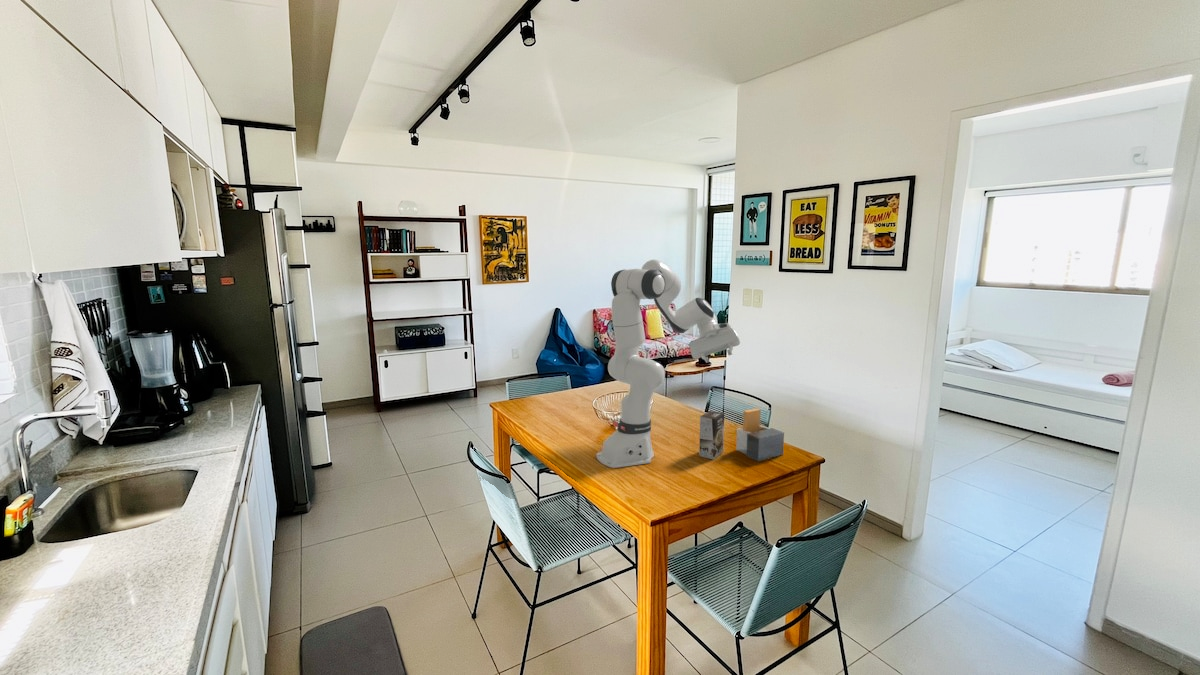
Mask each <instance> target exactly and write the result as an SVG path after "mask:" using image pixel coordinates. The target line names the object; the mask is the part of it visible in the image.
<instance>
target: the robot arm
mask: <svg viewBox="0 0 1200 675" xmlns="http://www.w3.org/2000/svg"><path fill="white" fill-rule="evenodd" d="M610 284H611V285H610V286H611V292H612V296H613V298H612V300H611V319H612V320H611V322H612V325H613V333H614V340H615V349H614V354H613V355H612V357H611V358H610V359H609V360H608V364H607V371H608V373H609V375H610V376H611V377H612V378H613V379H614V380H616V381H618V382H621V383H625V384H627V385H630V388H629V392H628V394H627V395H624V397H622V399H621V402H620V420H619V422H618V421H616V420H613V421H612V422H611V424H612V426H613V427H615V428H616V430H615V431H614V432H613V433H612V434H610V436H609V437H607V438H606V439H605V440H604V441H603V443H602V448H601V451H599V452H597V453H596V459H597V461H598V462H600V463H601V464H602V465H604V466H605V467H609V468H612V469H615V468H616V469H617V468H624V467H630V466H638V465H644V464H650V463H651V461H652V459H653V458H654V455H655V453H654V449H653V445H652V441H651V440H652V437H651V431H652V419H651V402H652V397H653V395H654V393H655V391H656V390H657V389H658V388H659V387H661V386H662V384H663V383H664V381H665V378H666V371H665V367H664V366H663V365H662V364H660V363H659V362H658V361H655V360H653V359H651V358H646V357H642V356H640V355H639V354H640V353H639V348H640V347H641V346H643V344H645V342H646V333H645V327H644V321H643V320H644V319H643V314H642V310H641V307H640V306H641V305H640V303H641V300H653V301H654V304H655V306H656V307H657V309H658V311H659V312H660V313H661V315H662V316H663V317H664V319H665V320H666V321H667V322H668V325H669V326H670V328H671V329H672V331H673V332H675V333H678V334H684V333H685V332H687V331H688V330H689V329H690V328H692V327H694V326H696V325H697V328H698V330H699V331H698V332H699V336H700V338H699V337H698V338H696V339H694V340H691V341H690V342H688V349H690V353H691V354H690V355H691V357H692V359H695V360H697V359H700V358H701V359H702V360H704V362H705V363H706V364H707V363H710V360H709V355H712V354H715V353H718V352H722V351H725V350H726V352H727V355H728V356H732V355H733V353H732V351H733V350H734V347H737V346H739V345H740V344H741V341H740V338H739V335H738V334H737V332H736V330H735V329H734V328H732V326H731V324H730V323H729V322H726V323H725V322H724V323H718V318H717V316H716V314H715V312H714V310H713V307H712V305H711V303H710V302H708V301H707V300H706V299H704V298H702V297H694V298H693V299H692V300H690V301H689V302H687V303H686V304H684V305H683V306H681V307H680V308H678V309H676V310H673V309H672V308H671V306H670V305H671V304H672V303H673V302H674V301H675V300H676V298H677V297H678V296H679V294H680V292H681V289H682V281H681V278H680V277H679V275H678V274H677V273H676V272H675V271H674V270H673V269H672V268H671V267H670V266H669V265H666V264H665V263H663V262H662V261H660V260H658V259H650V260H648V261H646V262H645V263H644V264H643V265H642V267H641V269H640V268H631V269H630V268H629V269H621V270H617V271H616V272H615V273H614V274H613V275H612V278H611V282H610Z"/></svg>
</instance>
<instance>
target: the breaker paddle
mask: <svg viewBox="0 0 1200 675" xmlns="http://www.w3.org/2000/svg"><path fill="white" fill-rule="evenodd" d="M742 416H743V419H742V429H743V430H746V431H748V432H751V433H753V432H757V431H760V425H761V409H759V408H758V407H757V408H753V409H752V408H751V409H746V410H743V415H742Z"/></svg>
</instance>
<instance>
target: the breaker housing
mask: <svg viewBox="0 0 1200 675" xmlns="http://www.w3.org/2000/svg"><path fill="white" fill-rule="evenodd" d="M784 438H785V432H783V431H782V430H781V431H780V430H778V429H776V428H773V427H771V428H770V427H768V426H765V425H762V424H760V431H757V432H753V433H751V432H748V431H746V430H743V428H741V427H738V428H736V449H735V450H736V451H738V452H740V453H742V454H744V455H746V457H747V458H749V459H751V460H753V459H754V460H753V461H755V462H758V463H759V462H762V460H763V461H766V460H769V459H768V458H770V459H772V457H774V458H777V457H781V456H783V455H784V441H785V439H784ZM780 455H781V456H780ZM776 456H777V457H776ZM765 459H766V460H765Z"/></svg>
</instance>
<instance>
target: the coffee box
mask: <svg viewBox="0 0 1200 675" xmlns="http://www.w3.org/2000/svg"><path fill="white" fill-rule="evenodd" d="M699 420H700V421H699V445H698V446H699V450H698V456H699V457H702V458H706V459H710V460H715V459H717V458H718V457H719V456H720V455H722V454H723V453H724V441H725V440H724V438H725V437H724V436H725V434H724V432H725V413H724V412H719V411H713V410H709V411H707V412H706V413H704V414H702V415H700V419H699Z"/></svg>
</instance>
